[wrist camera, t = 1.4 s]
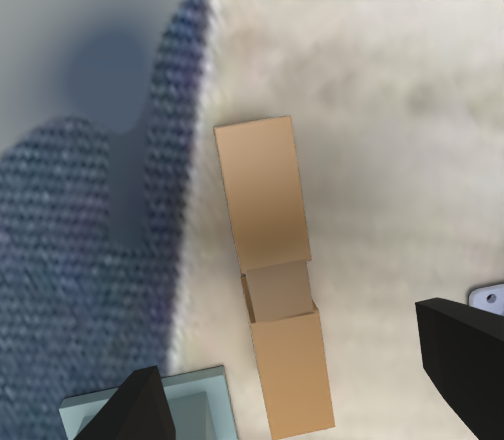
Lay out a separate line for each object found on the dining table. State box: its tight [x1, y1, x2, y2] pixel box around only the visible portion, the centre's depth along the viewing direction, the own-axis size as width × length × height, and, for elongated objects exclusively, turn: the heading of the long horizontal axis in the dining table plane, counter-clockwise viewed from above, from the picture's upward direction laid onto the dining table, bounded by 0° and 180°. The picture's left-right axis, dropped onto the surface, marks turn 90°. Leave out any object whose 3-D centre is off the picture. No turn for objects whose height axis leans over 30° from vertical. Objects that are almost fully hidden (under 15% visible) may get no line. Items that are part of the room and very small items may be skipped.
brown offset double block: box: [213, 116, 335, 440], centre depth 18 cm, size 3×12×5 cm, turn 10°
